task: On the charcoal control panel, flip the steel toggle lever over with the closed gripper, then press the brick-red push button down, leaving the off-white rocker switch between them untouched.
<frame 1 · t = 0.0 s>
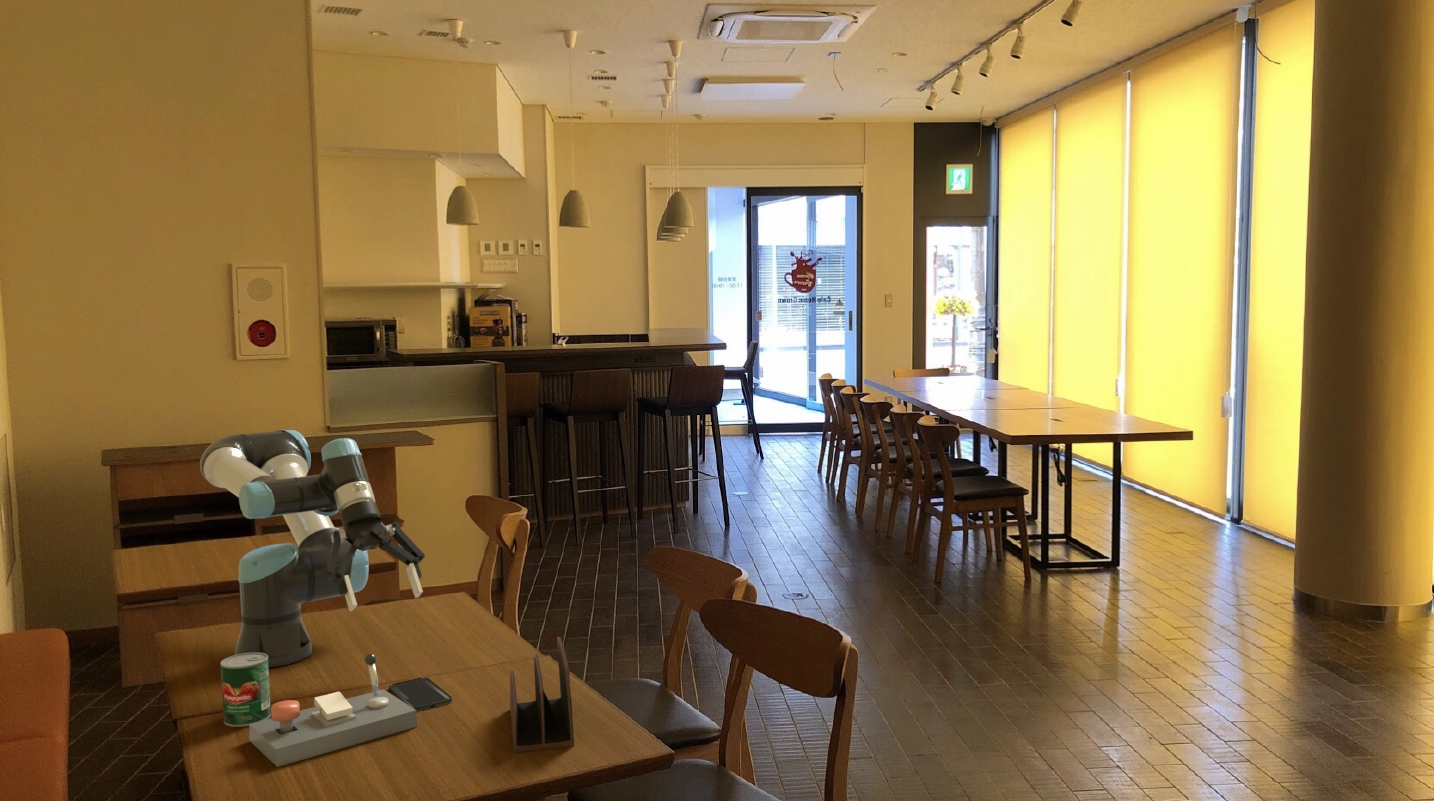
hand: (386, 601, 213), 15 cm above the table, tool tilted 35°, fingers open, 13 cm apart
push button: (286, 719, 180), point 5 cm above the table, slide at 0.0 cm
rocker switch: (333, 706, 185), point 5 cm above the table, hinge at 12.0°
toggle lever: (372, 667, 191), point 9 cm above the table, hinge at -20.0°
phone: (419, 698, 203), on the table
canned tomato: (247, 719, 193), on the table
control panel: (334, 733, 185), on the table
letter holder: (540, 728, 187), on the table
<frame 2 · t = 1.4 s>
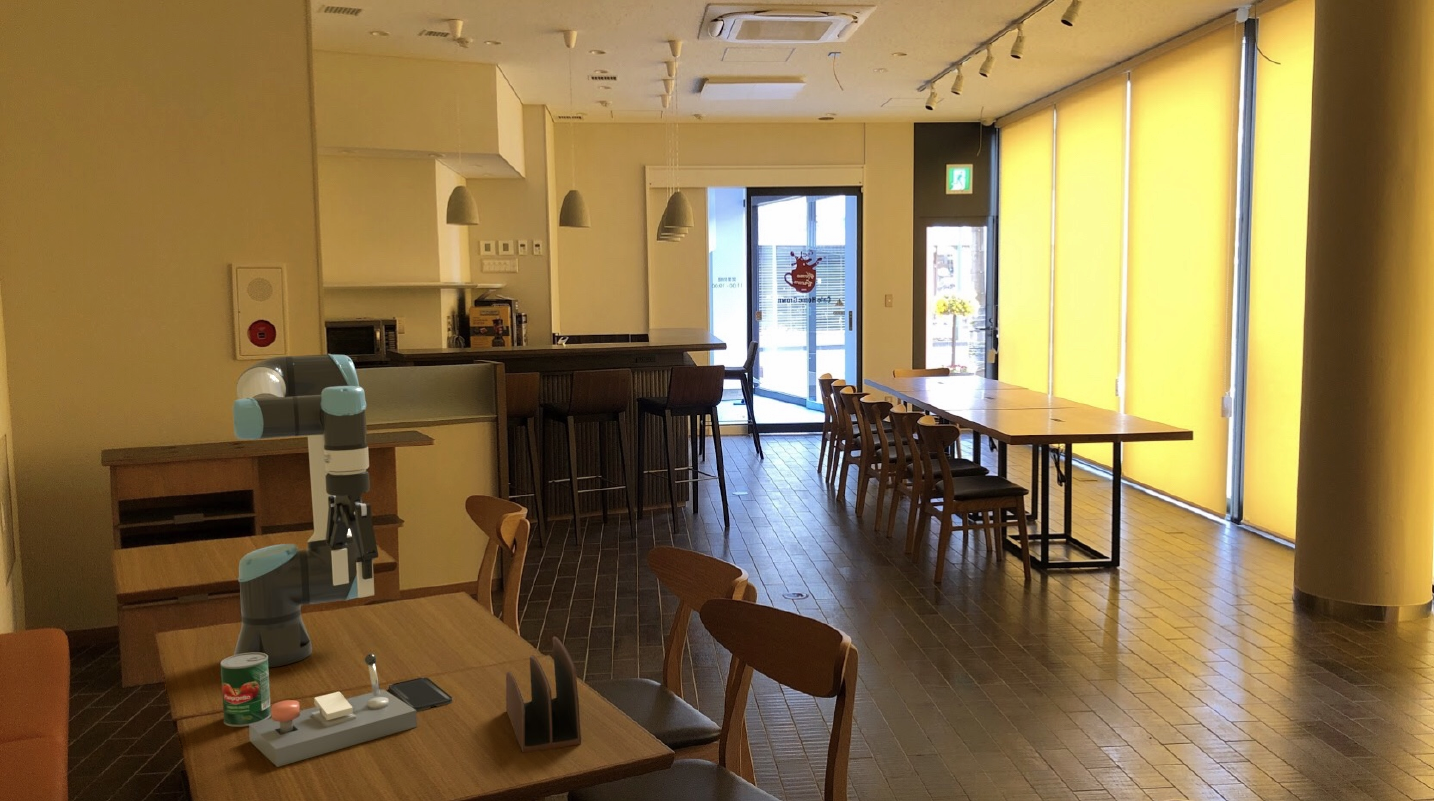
hand: (353, 589, 196), 22 cm above the table, tool pointing down, fingers open, 11 cm apart
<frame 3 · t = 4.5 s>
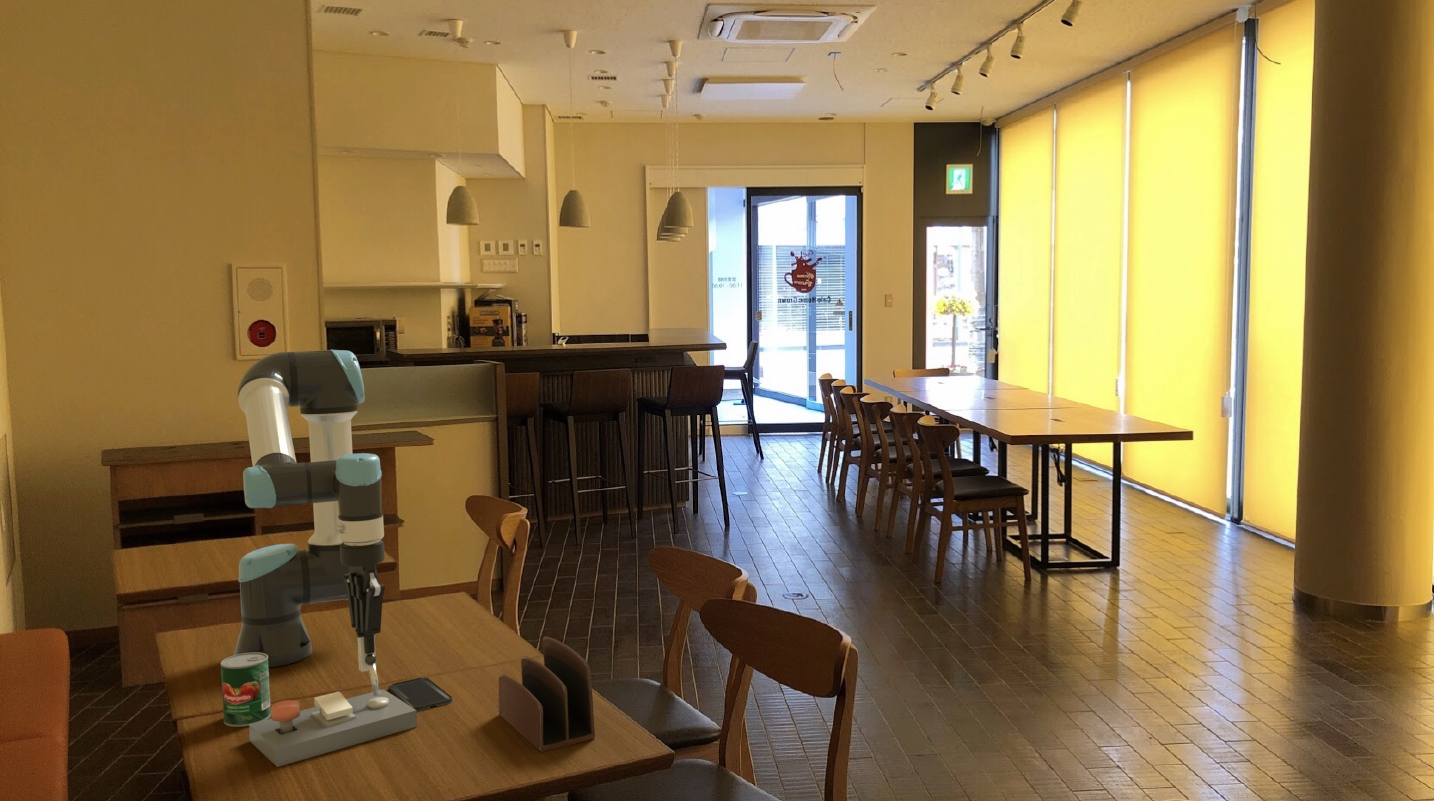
hand: (367, 669, 193), 9 cm above the table, tool pointing down, fingers closed
toggle lever: (372, 667, 191), point 9 cm above the table, hinge at -19.2°, touching gripper
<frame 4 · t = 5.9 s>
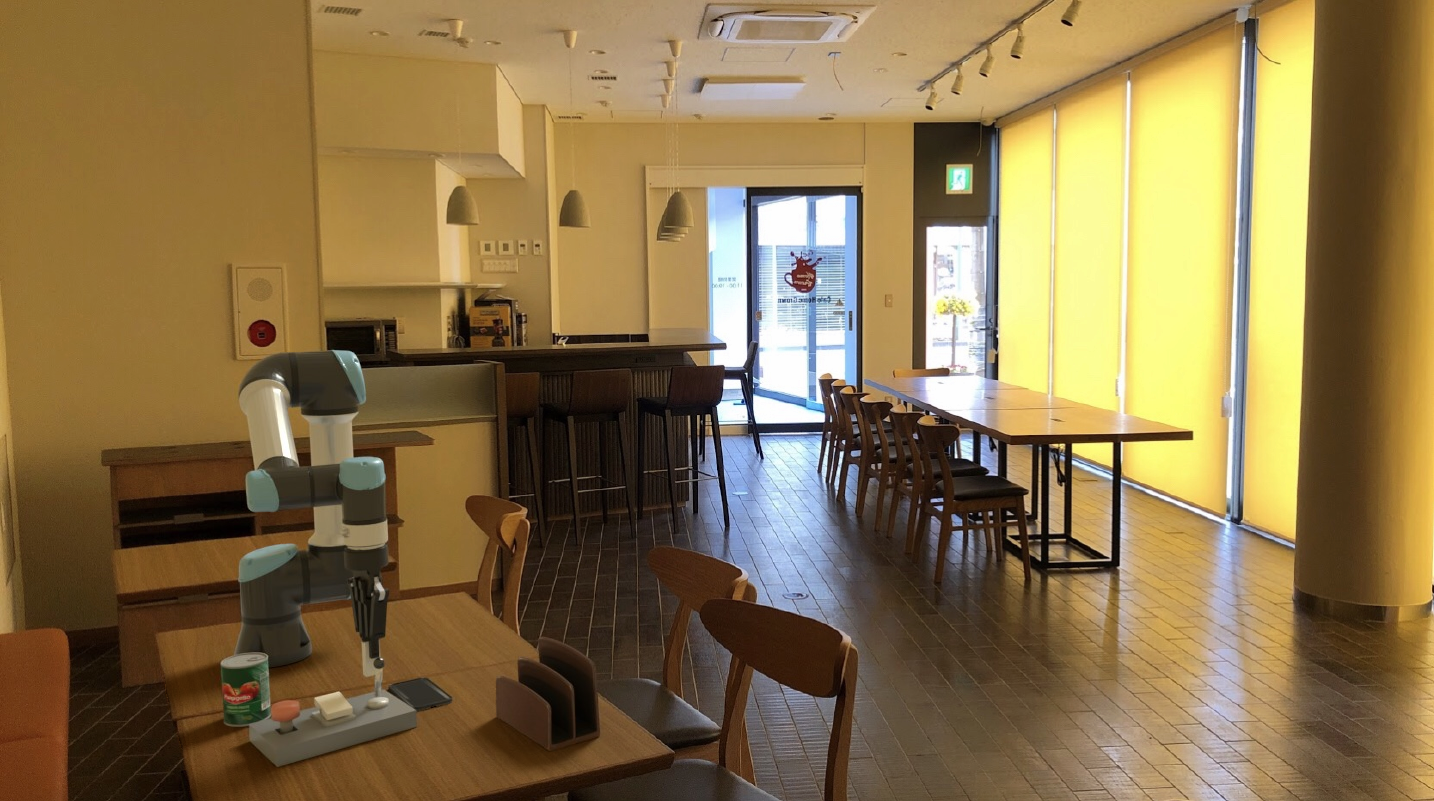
hand: (372, 673, 191), 8 cm above the table, tool pointing down, fingers closed
toggle lever: (378, 670, 189), point 10 cm above the table, hinge at 11.7°
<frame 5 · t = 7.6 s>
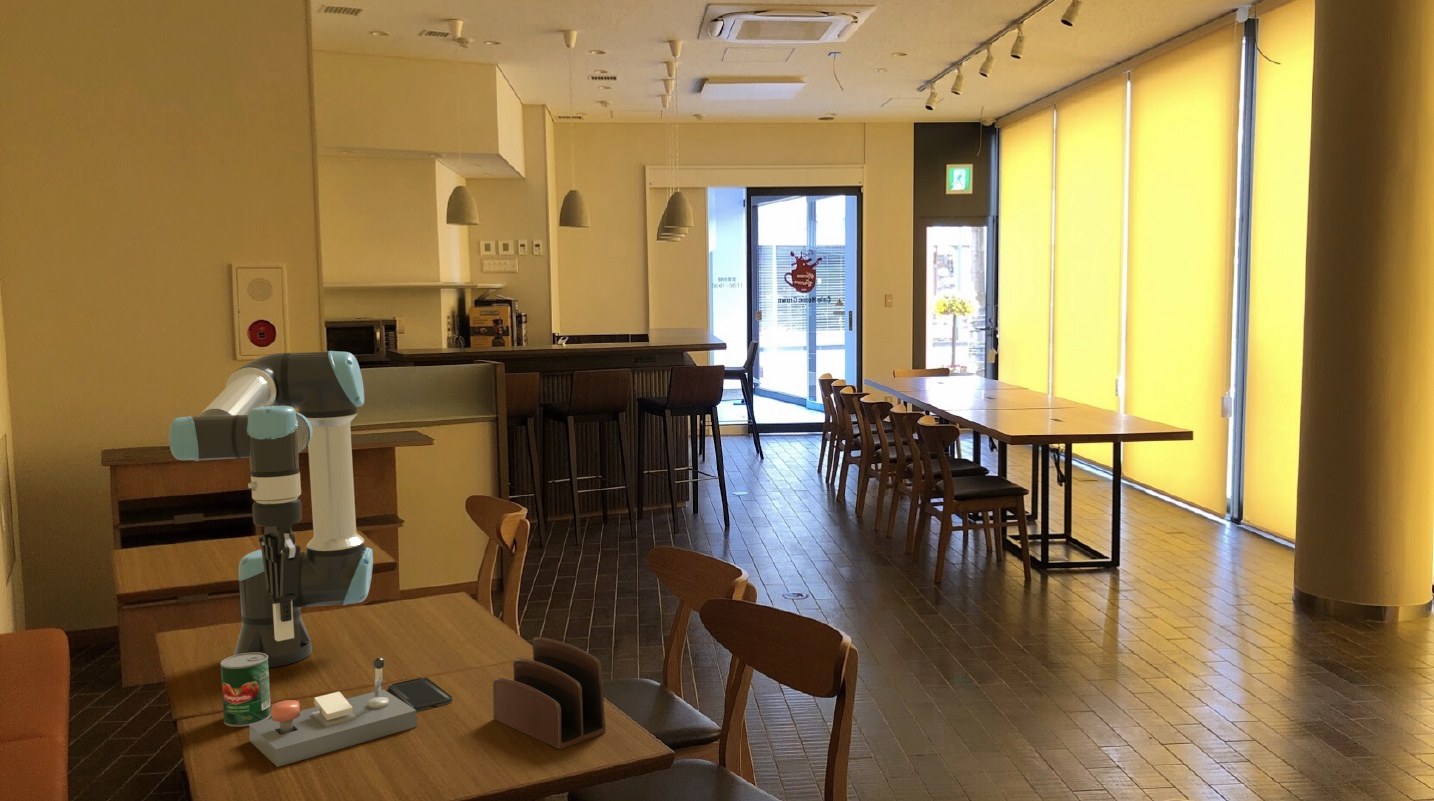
hand: (284, 638, 179), 19 cm above the table, tool pointing down, fingers closed
toggle lever: (378, 670, 189), point 10 cm above the table, hinge at 11.2°
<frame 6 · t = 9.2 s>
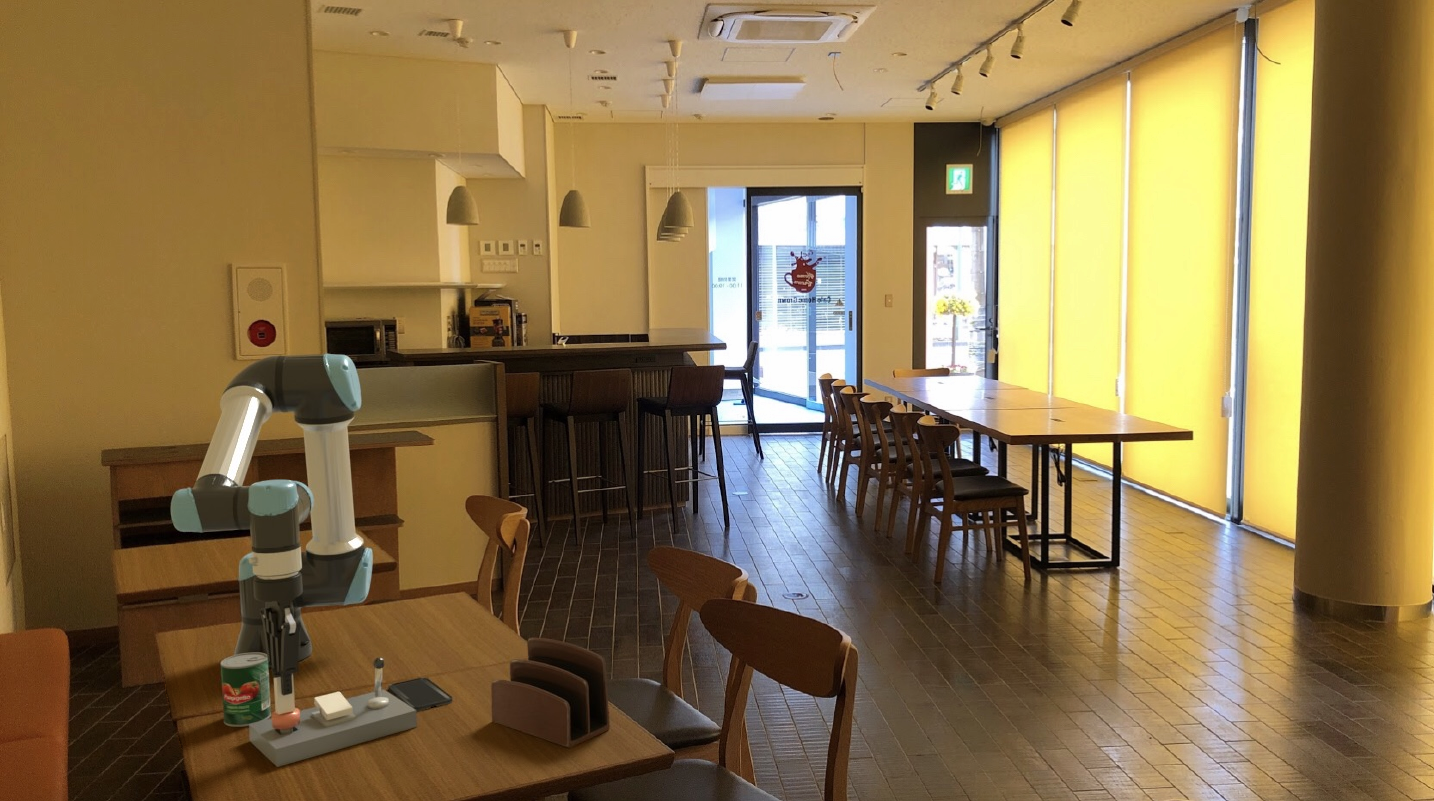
hand: (285, 711, 180), 6 cm above the table, tool pointing down, fingers closed
push button: (286, 726, 180), point 3 cm above the table, slide at 1.3 cm, touching gripper
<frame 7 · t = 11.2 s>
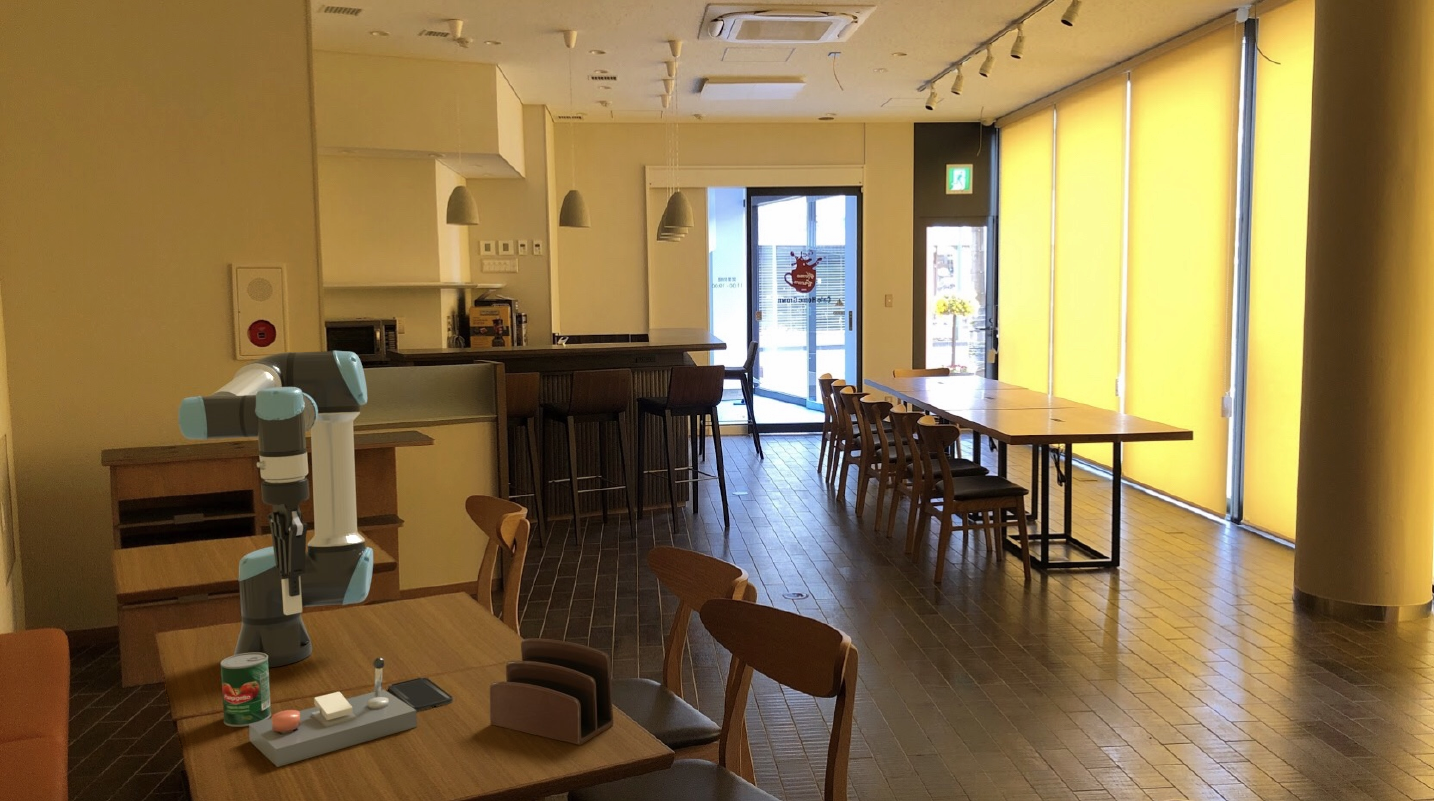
hand: (293, 612, 184), 21 cm above the table, tool pointing down, fingers closed
push button: (286, 729, 180), point 3 cm above the table, slide at 1.7 cm
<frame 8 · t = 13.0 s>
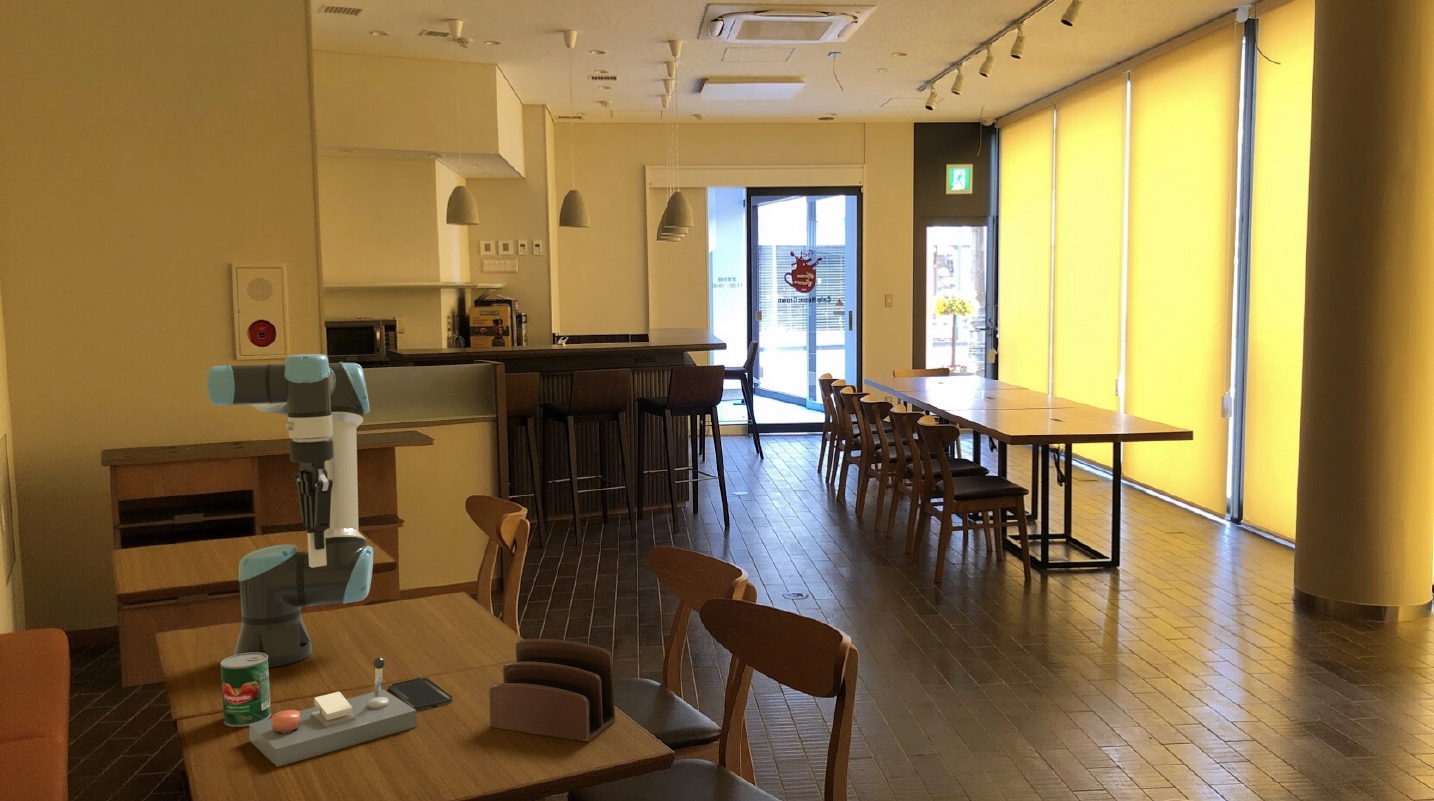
hand: (317, 565, 197), 26 cm above the table, tool pointing down, fingers closed
at the end: toggle lever at +11° (first picture: -20°); push button slide at 1.7 cm; rocker switch at +12° (first picture: +12°) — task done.
